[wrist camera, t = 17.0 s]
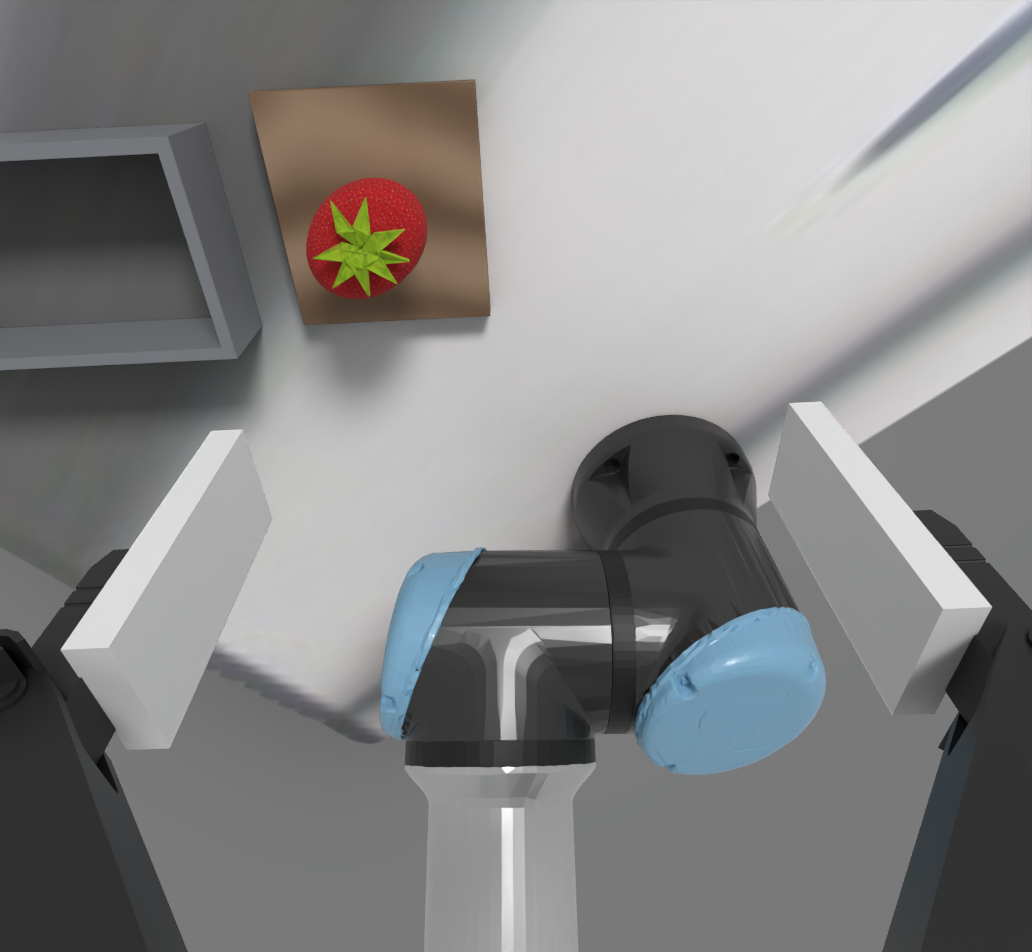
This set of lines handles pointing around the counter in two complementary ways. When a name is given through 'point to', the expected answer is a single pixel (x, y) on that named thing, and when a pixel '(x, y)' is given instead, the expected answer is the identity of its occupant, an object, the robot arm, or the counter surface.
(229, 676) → the counter surface
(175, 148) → the crate
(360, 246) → the strawberry
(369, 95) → the display board
